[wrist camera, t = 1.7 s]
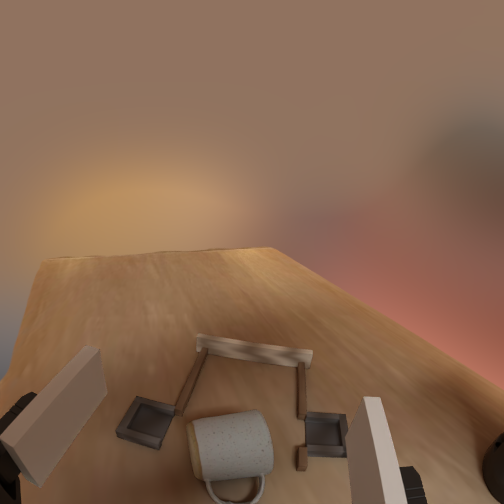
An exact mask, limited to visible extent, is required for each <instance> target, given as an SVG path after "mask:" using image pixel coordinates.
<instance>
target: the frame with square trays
mask: <svg viewBox="0 0 504 504" xmlns="http://www.w3.org/2000/svg"><path fill="white" fill-rule="evenodd" d="M196 352H200V353H199V355H198V357H197V360H196V362H195V364H194V366H193V369H192V371H191V373H190V375H189V377H188V380H187V382H186V384H185V386H184V388H183V391H182V393H181V395H180V397H179V399H178V402H177V404H176V406H173V405H168V404H165V403H161V402H157V401H153V400H149V399H146V398H142V397H139V396H136V398H135V400H134V401H133V403H132V405H131V406H130V408H129V410H128V411H127V413H126V415H125V416H124V418H123V419H122V421H121V423H120V424H119V426H118V428H117V429H116V434H117V437H119V438H122V439H125V440H128V441H131V442H134V443H137V444H140V445H143V446H147V447H150V448H153V449H157V450H159V449H160V447H161V445H162V441H163V438H164V436H165V434H166V431H167V429H168V427H169V425H170V422H171V420H172V418H173V417H174V415H178V416H182V415H183V413H184V410H185V408H186V406H187V403H188V401H189V398H190V396H191V393H192V391H193V389H194V386H195V384H196V381H197V379H198V376H199V374H200V372H201V369H202V367H203V364H204V362H205V360H206V357H207V355H208V354H212V355H218V356H223V357H229V358H235V359H241V360H248V361H254V362H261V363H268V364H275V365H283V366H291V367H297V371H298V419H300V420H305V423H306V447H299V449H298V451H297V471H306V468H307V456H314V457H341V458H347V450H346V442H345V436H346V434H347V432H348V426H347V420H346V414H331V413H316V412H307V408H306V379H305V368H310V364H311V360H312V356H313V350H307V349H298V348H290V347H283V346H275V345H268V344H261V343H254V342H248V341H241V340H235V339H229V338H223V337H217V336H211V335H206V334H201V333H198V335H197V346H196Z"/></svg>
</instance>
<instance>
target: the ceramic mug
mask: <svg viewBox="0 0 504 504" xmlns="http://www.w3.org/2000/svg"><path fill="white" fill-rule="evenodd" d="M186 433H187V441H188V447H189V453H190V459H191V464H192V468H193V472H194V475H195V477H196V478H198V479H199V480H204V481H205V482H206V488H207V491H208V493H209V495H210V497H211V498H212V499H213V500H214V501H215V502H216V503H217V504H255V503H257V502H258V500H259V499H260V498H261V496H262V494H263V491H264V487H265V476H264V475H266V474H269V473H271V471H272V469H273V466H274V452H273V445H272V440H271V435H270V432H269V428H268V426H267V423H266V421H265V419H264V417H263V415H262V414H261V412H260V411H258V410H250V411H245V412H239V413H233V414H227V415H221V416H215V417H207V418H200V419H197V420H193V421H191V422H189V423H188V424H187V426H186ZM255 476H258V477H259V489H258V493H257V495H256V497H255V498H254V499H253V500H252V501H250V502H245V503H232V502H230V501H228V502H224V501H221V500H220V499H218V498H217V496H216V495H214V492H213V490H212V488H211V484H210V482H211V481H221V480H229V479H238V478H247V477H255Z"/></svg>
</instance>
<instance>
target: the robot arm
mask: <svg viewBox="0 0 504 504" xmlns="http://www.w3.org/2000/svg"><path fill="white" fill-rule="evenodd" d="M107 393H108V392H107V387H106V382H105V377H104V372H103V366H102V361H101V355H100V349H97V348H94V347H91V346H88V345H86V346H85V347H84V348H83V349H82V350H81V351H80V352H79V353H78V354H77V355H76V356H75V357H74V358H73V359H72V360H71V361H70V362H69V363H68V364H67V365H66V366H65V367H64V368H63V369H62V370H61V371H60V372H59V373H58V374H57V375H56V376H55V377H54V378H53V379H52V380H51V381H50V382H49V383H48V384H47V385H46V386H45V387H44V388H43V390H42V391H41V392H40V393H39V394H38V395H37V394H35V393H34V392H30V393H28V394H26V395H24V396H22V397H21V398H20V399H19V400H18V401H17V402H16V403H15V406H14V405H13V406H12V408H11V409H10V410H9V411H8V412H7V413H6V414H5V415H4V416H3V417H2V418H1V419H0V504H21V492H20V480H19V477H18V475H19V474H20V472H21V473H22V474H23V475H24V477H25V478H26V479H27V480H28V481H30V482H31V483H33V484H35V485H36V486H38V487H39V488H41V487H42V485H43V484H44V483H45V481H46V480H47V478H48V477H49V475H50V474H51V472H52V471H53V469H54V468H55V466H56V465H57V464H58V462H59V461H60V459H61V458H62V456H63V455H64V453H65V452H66V451H67V449H68V448H69V446H70V445H71V443H72V442H73V441H74V439H75V438H76V436H77V435H78V434H79V432H80V431H81V429H82V428H83V427H84V425H85V424H86V422H87V421H88V420H89V418H90V417H91V415H92V414H93V413H94V411H95V410H96V408H97V407H98V406H99V404H100V403H101V402H102V400H103V399H104V397H105V396H106V395H107ZM345 442H346V450H347V459H348V467H349V477H350V486H351V497H352V504H427V500H426V497H425V492H424V489H423V485H422V481H421V478H420V475H419V474H418V472H417V471H416V470H415V469H414V467H413V466H409V467H399V465H398V461H397V457H396V453H395V449H394V445H393V441H392V438H391V434H390V430H389V427H388V423H387V420H386V416H385V413H384V409H383V406H382V402H381V399H380V397H364V396H363V399H362V401H361V404H360V406H359V408H358V410H357V413H356V415H355V417H354V419H353V421H352V424H351V426H350V428H349V430H348V432H347V434H346V436H345ZM483 474H484V478H485V481H486V484H487V486H488V488H489V490H490V491H491V493H492V494H493V495H494V497H495V498H496V499H497V500H498V501H500V502H501V503H502V504H504V432H503V433H502V434H501V435H500V436H498V437H497V439H496V440H495V441H494V442H493V444H492V445H491V446H490V447H489V449H488V450H487V452H486V454H485V456H484V460H483Z"/></svg>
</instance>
